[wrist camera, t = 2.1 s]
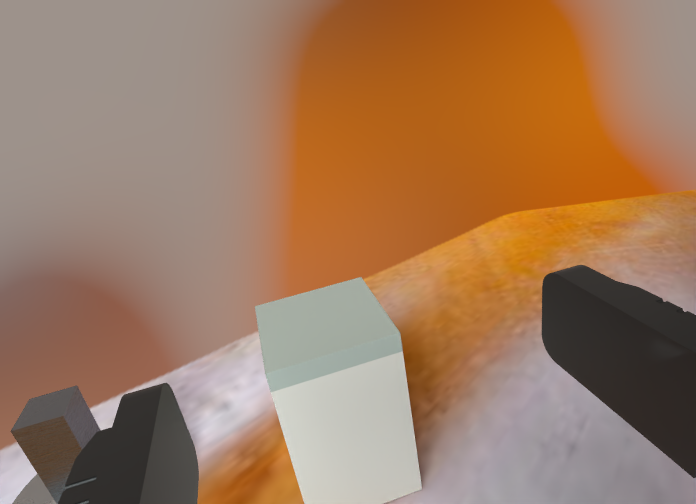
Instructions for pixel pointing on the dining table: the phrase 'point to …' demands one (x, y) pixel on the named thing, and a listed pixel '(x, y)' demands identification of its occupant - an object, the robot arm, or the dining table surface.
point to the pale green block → (341, 394)
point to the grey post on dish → (52, 441)
